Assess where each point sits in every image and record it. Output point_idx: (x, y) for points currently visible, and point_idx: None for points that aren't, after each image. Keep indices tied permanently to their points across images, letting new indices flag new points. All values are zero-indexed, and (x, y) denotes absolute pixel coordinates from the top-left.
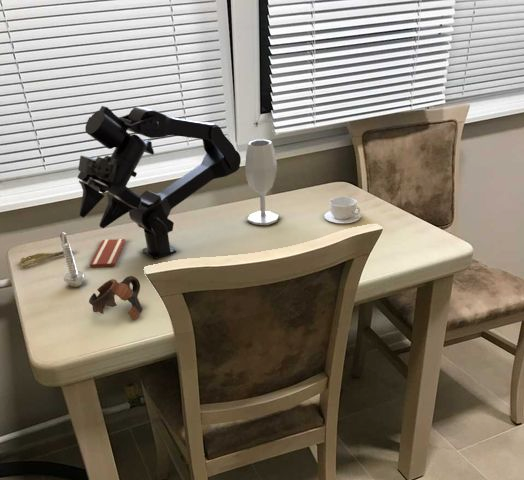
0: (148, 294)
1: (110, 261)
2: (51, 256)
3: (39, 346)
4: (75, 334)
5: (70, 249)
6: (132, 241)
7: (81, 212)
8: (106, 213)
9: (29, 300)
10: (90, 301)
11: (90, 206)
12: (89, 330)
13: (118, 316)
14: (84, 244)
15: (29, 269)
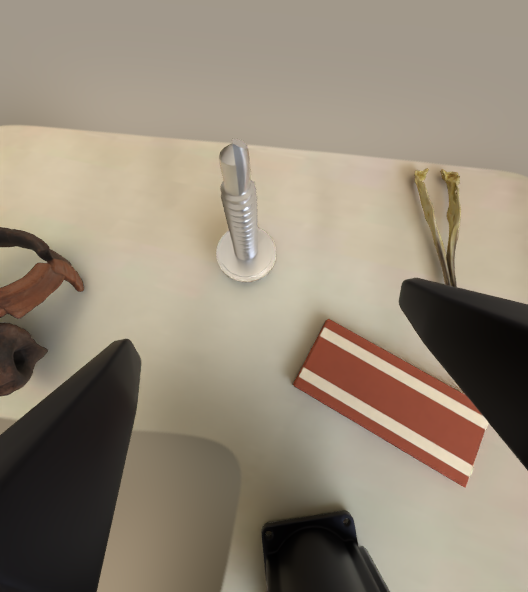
0: None
1: (310, 379)
2: (436, 240)
3: (36, 137)
4: (23, 201)
5: (236, 217)
6: (449, 507)
7: (418, 289)
8: (4, 436)
9: None
10: (4, 230)
11: (474, 376)
12: None
13: None
14: None
15: (399, 186)
